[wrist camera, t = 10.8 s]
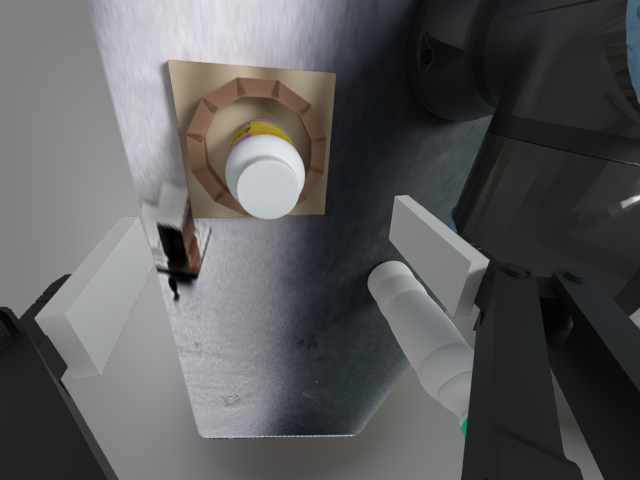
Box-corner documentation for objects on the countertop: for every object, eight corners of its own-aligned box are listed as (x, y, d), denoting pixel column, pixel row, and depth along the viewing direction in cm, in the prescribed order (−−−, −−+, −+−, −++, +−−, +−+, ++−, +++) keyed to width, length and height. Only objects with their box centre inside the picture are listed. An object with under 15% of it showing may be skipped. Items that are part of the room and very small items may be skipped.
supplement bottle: (246, 105, 30) (246, 126, 19) (302, 137, 33) (329, 171, 22) (220, 162, 32) (207, 210, 21) (274, 188, 35) (287, 242, 24)
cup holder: (333, 73, 31) (341, 73, 29) (322, 211, 39) (327, 221, 36) (170, 60, 28) (162, 59, 25) (194, 214, 36) (190, 225, 33)
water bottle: (408, 286, 49) (528, 448, 28) (368, 299, 49) (461, 473, 28) (406, 253, 46) (542, 411, 25) (363, 266, 45) (465, 439, 24)
